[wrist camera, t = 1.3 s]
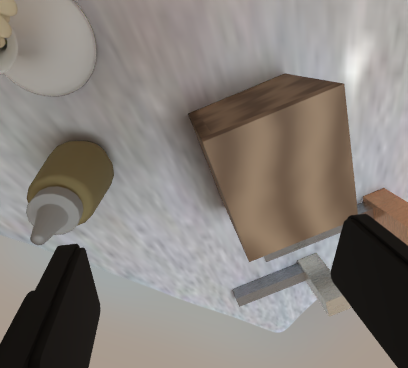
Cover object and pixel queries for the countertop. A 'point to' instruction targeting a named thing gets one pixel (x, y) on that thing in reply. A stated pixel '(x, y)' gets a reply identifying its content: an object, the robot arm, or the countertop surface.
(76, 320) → the robot arm
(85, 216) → the squeeze bottle
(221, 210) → the countertop surface
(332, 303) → the l-shaped tool
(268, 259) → the crook tool
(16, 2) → the flower in vase
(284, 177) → the walnut cubby
